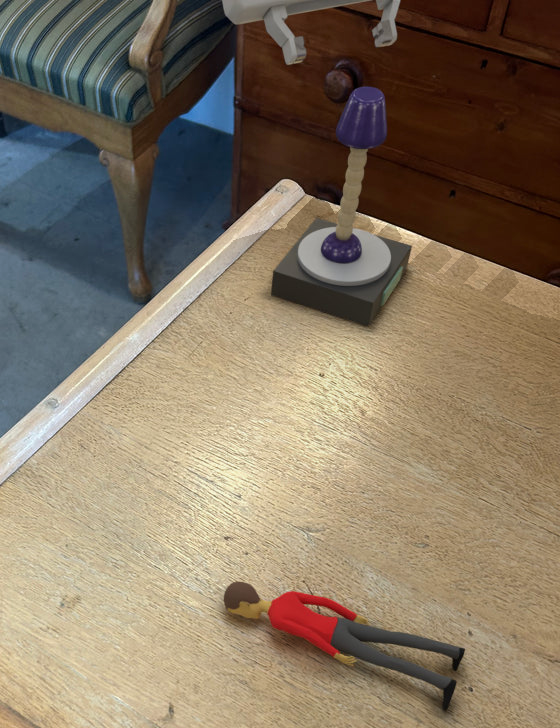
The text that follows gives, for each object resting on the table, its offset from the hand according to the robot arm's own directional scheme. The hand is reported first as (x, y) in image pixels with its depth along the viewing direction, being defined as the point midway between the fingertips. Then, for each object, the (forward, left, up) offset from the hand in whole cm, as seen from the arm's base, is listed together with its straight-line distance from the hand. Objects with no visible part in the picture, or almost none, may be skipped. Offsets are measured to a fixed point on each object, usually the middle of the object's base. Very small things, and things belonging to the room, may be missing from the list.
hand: (342, 52), depth 84 cm
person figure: (-32, +47, -19) cm, 59 cm away
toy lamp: (-5, +6, -17) cm, 19 cm away
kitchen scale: (-5, +6, -20) cm, 22 cm away
